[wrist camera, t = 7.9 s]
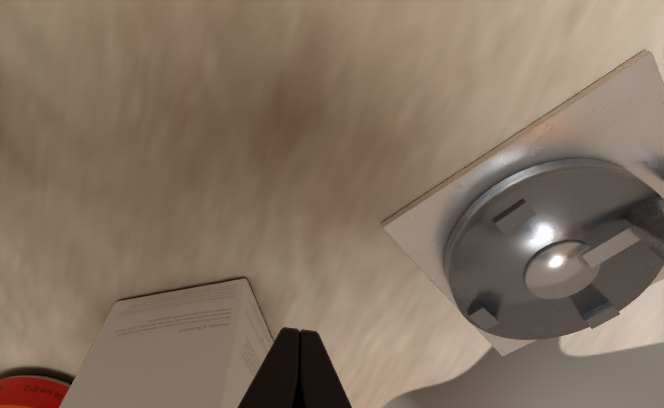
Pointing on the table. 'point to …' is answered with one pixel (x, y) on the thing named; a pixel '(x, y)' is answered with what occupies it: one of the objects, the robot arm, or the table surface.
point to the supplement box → (175, 351)
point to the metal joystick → (555, 249)
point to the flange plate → (541, 147)
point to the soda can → (32, 392)
